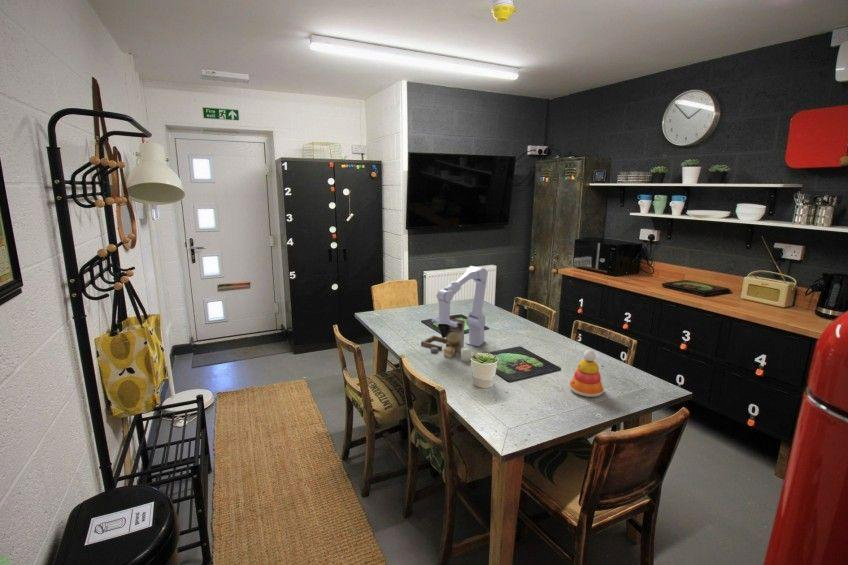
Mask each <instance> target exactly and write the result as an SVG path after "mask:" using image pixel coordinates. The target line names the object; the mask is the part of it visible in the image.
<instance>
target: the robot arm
mask: <svg viewBox="0 0 848 565" xmlns="http://www.w3.org/2000/svg"><path fill="white" fill-rule="evenodd" d="M487 279H488V271H487V269H486V268H484V267H480V266H474V265H469V266H468V267H467V268H466V269H465V272H464V273H463V274H462V275H461V276H460V277H459V278H458V279H457V280H456V281H455V280H453V281H451V282H450V283H449V284H447V286H445V287H444V288H442V289H440V290H438V291H437V295H436V299H437V301H438V302H437V303H438V318H437V317H432V318H431V322H432V323H436V324H437V328H438V329H439V332H440V335H441V337H442V338H446V335H447V332H448V329H449V327H450V326H454V327H457V323H456V322H453V321H451V320H450V319H451V318H450V317H451V302H452V300H453V297H454V295H456V294H457V293H458V292H459V291H460V290H461V287H462V286H463V285H464V284H466V283H467V282H469V281H470V280H473V281H474V282H475V290H474V294H473V295H474V296H473V303H472V309H471V311H469V312H468V313H467V314H468V315H467V317H466V319H465V320H466V321H465V322H466V323H465V324H466V325H467V326H468V327H467V328H468V341H466V342H465V344H467V345H471V346H475V347H480V346H481V345H483V344H484V343H486V342H487V341H486V340H485V329H484V328H485V326H486V316H485V315H484V313H483V306H484V301H485V300H484V299H485V294H486V287H487Z"/></svg>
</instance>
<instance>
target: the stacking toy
mask: <svg viewBox="0 0 848 565" xmlns="http://www.w3.org/2000/svg"><path fill="white" fill-rule="evenodd" d="M596 357H597V356H596V353H595V350H592V349H587V350H585V351H584V353H583V359H582V360H581V361H579V363H578V365H577V368H576V369H575V371H574V374H573V375H574V376H573V375H572V378H571V379H570V381H569V383H568V386H569V389H570V390H571V391H572V392H573V393H574V394H577V395H580V396H582V397H588V398H589V397H591V398H593V397H594V398H595V397H596V398H597V397H599V396H601V395H602V394H603V393H604V391H605V389H604V386H603V383H602V381H601V380H602V376H601V372H600V368H599V367H600V366H599V365H598V363H597V362H596V361H595V360H596Z"/></svg>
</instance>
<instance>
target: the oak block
mask: <svg viewBox="0 0 848 565" xmlns="http://www.w3.org/2000/svg"><path fill="white" fill-rule="evenodd" d="M443 356H444V357H447V358H452V357H454V356H455V351H454V348H452V347H449V346H448V347H446V346H445V348H443Z"/></svg>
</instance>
